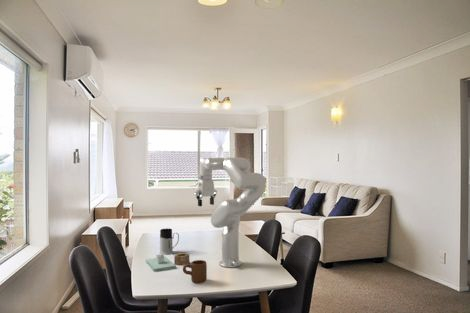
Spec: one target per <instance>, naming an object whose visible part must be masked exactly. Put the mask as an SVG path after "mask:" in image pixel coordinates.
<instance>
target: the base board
mask: <svg viewBox="0 0 470 313" xmlns="http://www.w3.org/2000/svg"><path fill="white" fill-rule="evenodd" d="M145 263H146V264H147V265H148V266H149V267H150V268H151V270H152V271H153V272H161V271H167V270H173V269H176V265H175V263H173V262H172V261H171V260H170V259H169V258H168V257H167V256H164V263H160V264H158V263H157V262H156V257H154V258H149V259H148V258H147V259H145Z"/></svg>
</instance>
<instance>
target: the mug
mask: <svg viewBox="0 0 470 313" xmlns="http://www.w3.org/2000/svg"><path fill="white" fill-rule="evenodd" d="M207 264H208V263H207V260H201V259H199V260H197V259H196V260H193V261H191V264H190V263H188V264H186V265H184V266H183V265H182V266H183V267H182V272H183V274H185V275H189V276H190V277H191V279H190V280H191V282H192V283H194V284H204V283H206V282H207V279H208V276H207V275H208V274H207V271H208V270H207V269H208V267H207ZM187 268H189V269H190V270H187Z"/></svg>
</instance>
